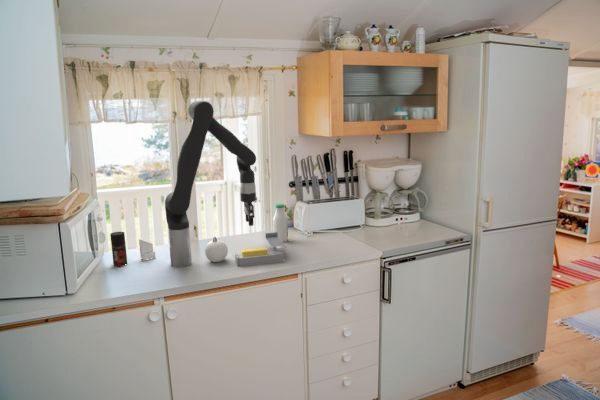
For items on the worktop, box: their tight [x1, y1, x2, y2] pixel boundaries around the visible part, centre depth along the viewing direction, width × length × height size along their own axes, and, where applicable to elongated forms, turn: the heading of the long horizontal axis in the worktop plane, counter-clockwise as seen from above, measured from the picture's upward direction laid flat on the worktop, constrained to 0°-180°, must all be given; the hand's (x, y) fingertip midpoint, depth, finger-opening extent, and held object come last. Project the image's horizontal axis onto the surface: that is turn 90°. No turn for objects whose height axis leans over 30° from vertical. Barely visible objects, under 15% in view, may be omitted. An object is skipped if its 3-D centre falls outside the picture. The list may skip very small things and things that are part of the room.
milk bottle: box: [272, 203, 289, 243], centre depth 240 cm, size 8×8×20 cm
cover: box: [264, 231, 287, 251], centre depth 220 cm, size 6×22×3 cm, turn 16°
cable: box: [241, 247, 269, 258], centre depth 217 cm, size 12×4×3 cm, turn 106°
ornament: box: [204, 236, 229, 263], centre depth 210 cm, size 10×10×12 cm
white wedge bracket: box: [138, 238, 157, 261], centre depth 216 cm, size 4×10×9 cm, turn 138°
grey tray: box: [232, 250, 286, 267], centre depth 213 cm, size 22×16×4 cm
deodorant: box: [110, 231, 128, 267], centre depth 208 cm, size 6×6×15 cm
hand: (249, 223), depth 225 cm, fingers open, 8 cm apart
